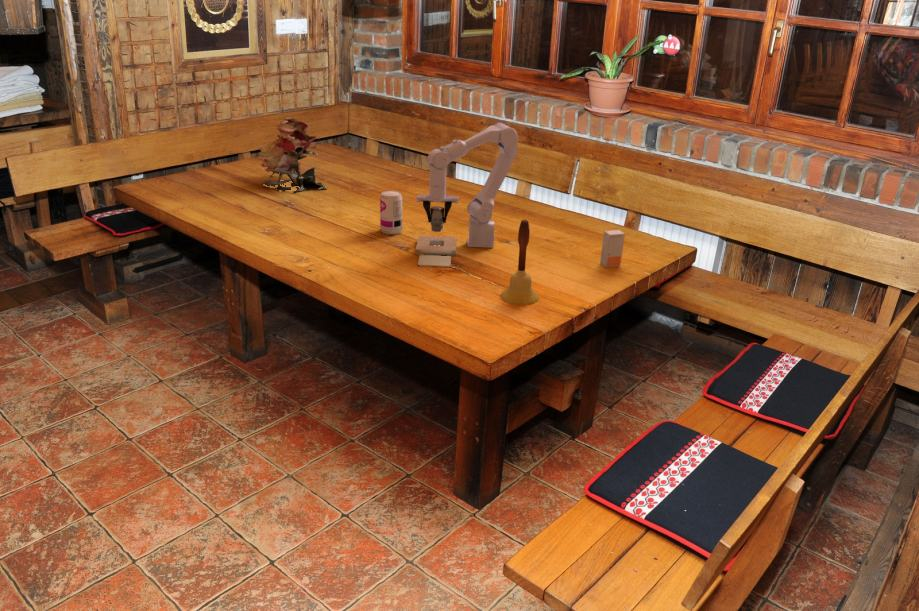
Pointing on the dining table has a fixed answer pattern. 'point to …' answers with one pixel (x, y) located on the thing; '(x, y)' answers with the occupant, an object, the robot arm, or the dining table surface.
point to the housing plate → (427, 245)
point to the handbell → (521, 274)
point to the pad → (434, 260)
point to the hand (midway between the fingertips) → (437, 221)
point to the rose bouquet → (289, 155)
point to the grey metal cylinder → (437, 218)
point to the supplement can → (391, 212)
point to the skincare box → (612, 248)
